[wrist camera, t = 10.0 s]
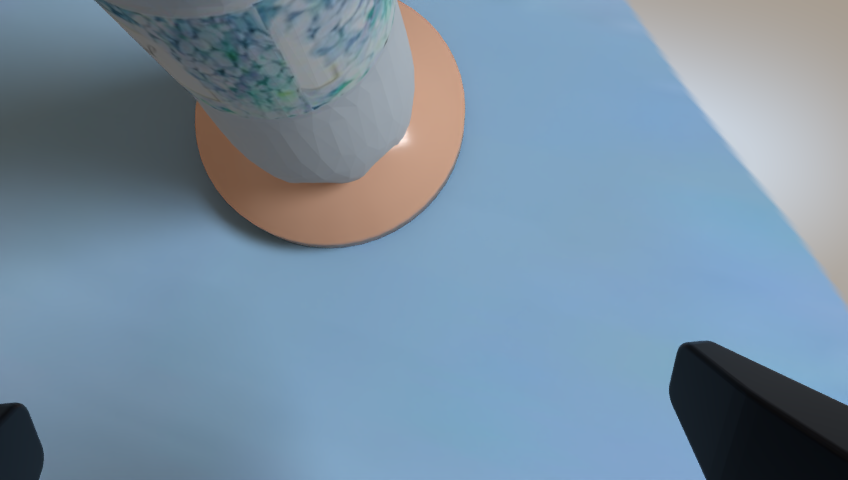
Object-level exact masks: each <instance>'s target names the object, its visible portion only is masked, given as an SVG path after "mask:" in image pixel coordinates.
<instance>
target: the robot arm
mask: <svg viewBox="0 0 848 480" xmlns="http://www.w3.org/2000/svg"><path fill="white" fill-rule="evenodd" d="M669 395H670V400H671V403H672V405H673V408H674V410H675V412H676V414H677V416H678V419H679V421H680V423H681V425H682V427H683V430H684V432H685V434H686V436H687V438H688V441H689V443H690V445H691V447H692V449H693V452H694V454H695V456H696V458H697V460H698V463H699V465H700V467H701V469H702V471H703V474H704V476H705V478H706V480H848V406H847V405H845V404H843V403H841V402H839V401H837V400H835V399H832V398H830V397H828V396H826V395H824V394H822V393H820V392H818V391H815V390H813V389H811V388H809V387H807V386H805V385H803V384H801V383H799V382H796V381H794V380H792V379H790V378H788V377H786V376H784V375H782V374H779V373H777V372H775V371H773V370H771V369H769V368H767V367H765V366H763V365H760V364H758V363H756V362H754V361H752V360H750V359H748V358H746V357H743V356H741V355H739V354H737V353H735V352H733V351H731V350H729V349H727V348H724V347H722V346H720V345H718V344H716V343H714V342H711V341H696V342H686V343H683V344H682V345H681V346H680V347H679V348H678V351H677V354H676V359H675V363H674V367H673V372H672V376H671V380H670V385H669ZM43 462H44V453H43V448H42V445H41V442H40V440H39V437H38V435H37V432H36V429H35V427H34V424H33V422H32V419H31V417H30V414H29V412H28V410H27V408H26V407H25V406H24V405H23V404H20V403H4V404H0V480H39V478H40V474H41V471H42V468H43Z"/></svg>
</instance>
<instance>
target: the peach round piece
mask: <svg viewBox="0 0 848 480" xmlns="http://www.w3.org/2000/svg"><path fill="white" fill-rule="evenodd" d="M397 2H398V5H399V8H400V12H401V15H402V19H403V22H404V26H405V29H406V33H407V37H408V41H409V45H410V49H411V54H412V59H413V65H414V85H415V91H414V98H413V106H412V113H411V119H410V123H409V126H408V128H407V131H406V133H405V135H404V137H403V138H402V140H401V141H400V142H399V143H398V145H395V146H394V147H392V148H391V149H390V150H389V151H388V152H387V153H386V154H385V155H384V156H383V157H382V158H380V159H379V160H378V161H377V162H376V163H375V164H374V165H373V166H372V167H371V168H370V170H369V171H368V172H367V173H366V174H365V175H364V176H363V177H361V178H360V179H358V180H355V181H352V182H348V183H342V184H341V183H289V182H286V181H284V180H281V179H279V178H276V177H274V176H273V175H271V174H269V173H268V172H266V171H264V170H263V169H261V168H260V167H259V166H257V165H256V164H254V163H253V162H251V161H250V160H249V159H248V158H246V157H245V156H244V155H243V154H242V153H241V152H240V151H239V150H238V149H237V148H236V147H235V146H234V145H233V144H232V143H231V142H230V141H229V140H228V139H227V137H226V136H225V135H224V134H223V133H222V132H221V130H220V129H219V128H218V127H217V126H216V124H215V123H214V122H213V121H212V119H211V118H210V117H209V115H208V114H207V113H206V112H205V110H204V109H203V108H202V107H201V105H200V104H199V103H198V101H197V102H196V109H195V130H196V139H197V145H198V149H199V153H200V157H201V160H202V162H203V165H204V167H205V169H206V172H207V174H208V176H209V178H210V179H211V181H212V183H213V184H214V186H215V188H216V189H217V191H218V192H219V193H220V194H221V196H222V197H223V198H224V199H225V201H226V202H227V203H228V204H229V205H230V206H231V207H232V208H234V209H235V210H236V211H237V212H238V213H239V214H240V215H242V216H243V217H244V218H246V219H247V220H249V221H250V222H251V223H253V224H254V225H256V226H258V227H259V228H261V229H262V230H264V231H266V232H268V233H270V234H272V235H274V236H276V237H278V238H281V239H283V240H286V241H289V242H292V243H295V244H300V245H305V246H309V247H320V248H339V247H349V246H355V245H360V244H364V243H367V242H371V241H374V240H377V239H380V238H382V237H384V236H386V235H388V234H391V233H393V232H395V231H397V230H398V229H400V228H401V227H403V226H405V225H406V224H408V223H409V222H411V221H412V220H413V219H414V218H416V217H417V216H418V215H419V214H420V213H422V212H423V211H424V210H425V209H426V208H427V207H428V206H429V205H430V204H431V202H432V201H433V200H434V199H435V198H436V197H437V195H438V194H439V193H440V191H441V190H442V188H443V187H444V186H445V184H446V183H447V181H448V179H449V177H450V175H451V173H452V171H453V169H454V167H455V164H456V161H457V159H458V156H459V153H460V149H461V144H462V140H463V133H464V120H465V100H464V90H463V85H462V80H461V75H460V73H459V70H458V67H457V64H456V61H455V59H454V57H453V55H452V53H451V51H450V49H449V47H448V46H447V44H446V43H445V41H444V40H443V38H442V37H441V36H440V34H439V33H438V32H437V31H436V29H435V28H434V27H433V26H432V25H431V24H430V23H429V22H428V21H427V20H426V19H425V18H424V17H422V16H421V15H420V14H419V13H417V12H416V11H415V10H414V9H412V8H410V7H409V6H407V5H406V4H404V3H402V2H401V1H399V0H397Z"/></svg>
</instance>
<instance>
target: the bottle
mask: <svg viewBox="0 0 848 480" xmlns="http://www.w3.org/2000/svg"><path fill="white" fill-rule="evenodd" d="M95 1H96V2H97V3H98V4H99V5H100V6H101V7H102V8H103V9H104V10H105V11H106V12H107V13H108V14H109V15H110V16H111V17H112V18H113V19H114V20H115V21H116V22H117V23H118V24H119V25H120V26H121V27H122V28H123V29H124V30H125V31H126V32H127V33H128V34H129V35H130V36H131V37H133V38H134V39H135V40H136V41H137V42H138V43H139V44H140V45H141V46H142V47H143V48H144V49H145V50H146V51H147V52H148V53H149V54H150V55H151V56H152V57H153V58H154V59H155V60H156V61H157V62H158V63H159V64H160V65H161V66H162V67H163V68H164V69H165V70H166V71H167V72H168V73H169V74H170V75H171V76H172V77H173V78H174V79H175V80H176V81H177V82H179V83H180V84H181V85H182V86H183V87H184V88H185V89H186V90H187V91H188V92H189V93H190V94H191V95H192V96H193V97H194V98H195V99H196V100H197V101H198V103H199V104H200V105H201V107H202V108H203V109H204V110H205V112H206V113H207V114H208V115H209V117H210V118H211V119H212V121H213V122H214V123H215V124H216V126H217V127H218V128H219V129H220V130H221V132H222V133H223V134H224V135H225V136H226V137H227V139H228V140H229V141H230V142H231V143H232V144H233V145H234V146H235V147H236V148H237V149H238V150H239V151H240V152H241V153H242V154H243V155H244V156H245V157H246V158H248V159H249V160H250V161H251V162H253V163H254V164H256V165H257V166H259V167H260V168H261V169H263V170H264V171H266V172H268V173H269V174H271V175H273V176H274V177H276V178H279V179H281V180H284V181H286V182H289V183H341V184H342V183H348V182H352V181H355V180H358V179H360V178H361V177H363V176H364V175H365V174H366V173H367V172H368V171H369V170H370V168H371V167H372V166H373V165H374V164H375V163H376V162H377V161H378V160H379V159H380V158H382V157H383V156H384V155H385V154H386V153H387V152H388V151H389V150H390V149H391V148H392V147H394V146H395V145H398V143H399V142H400V141H401V140H402V138H403V137H404V135H405V133H406V131H407V128H408V126H409V123H410V119H411V113H412V106H413V98H414V91H415V85H414V65H413V59H412V54H411V49H410V45H409V41H408V37H407V33H406V29H405V26H404V22H403V19H402V15H401V12H400V8H399V5H398V2H397V0H95Z"/></svg>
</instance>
